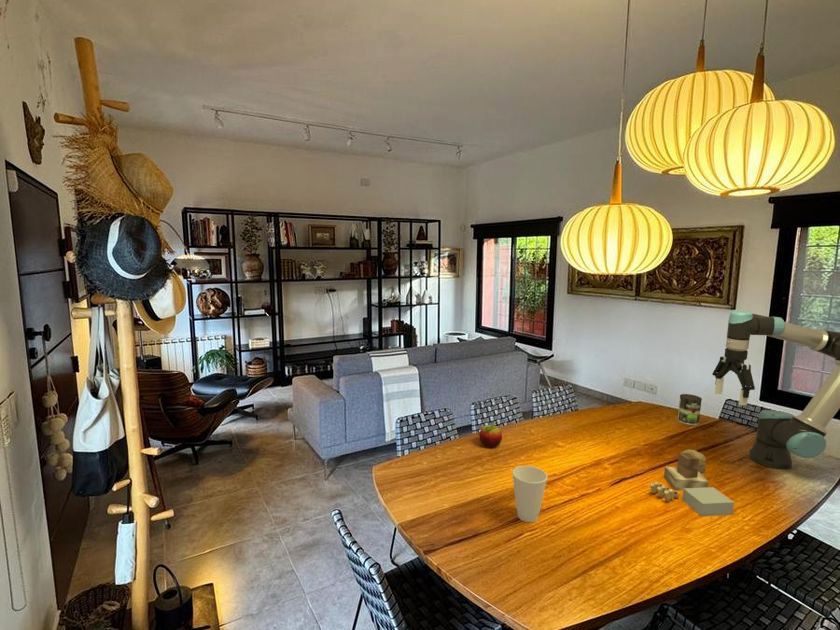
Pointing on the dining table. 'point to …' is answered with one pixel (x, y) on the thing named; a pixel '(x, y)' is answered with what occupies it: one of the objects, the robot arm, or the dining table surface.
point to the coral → (701, 459)
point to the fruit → (490, 436)
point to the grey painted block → (708, 501)
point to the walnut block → (688, 465)
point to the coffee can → (689, 409)
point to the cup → (528, 491)
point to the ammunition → (663, 491)
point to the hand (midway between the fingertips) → (730, 399)
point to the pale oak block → (683, 480)
